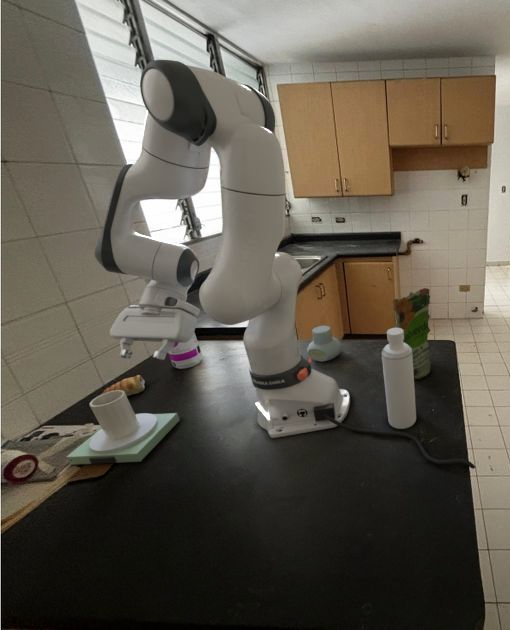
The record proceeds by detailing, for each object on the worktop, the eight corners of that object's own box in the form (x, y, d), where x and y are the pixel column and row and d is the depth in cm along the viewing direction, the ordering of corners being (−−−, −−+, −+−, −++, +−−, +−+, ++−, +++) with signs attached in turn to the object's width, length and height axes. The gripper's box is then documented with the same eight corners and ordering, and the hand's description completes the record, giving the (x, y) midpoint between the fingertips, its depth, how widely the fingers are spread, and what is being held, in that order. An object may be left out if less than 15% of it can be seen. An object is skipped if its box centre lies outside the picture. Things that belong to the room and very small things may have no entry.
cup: (145, 421, 79) (131, 389, 75) (126, 439, 73) (109, 406, 70) (121, 422, 79) (105, 390, 75) (99, 440, 73) (81, 407, 70)
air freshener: (347, 352, 111) (343, 325, 107) (334, 365, 104) (329, 336, 100) (319, 348, 114) (314, 322, 110) (304, 361, 107) (298, 333, 103)
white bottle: (400, 406, 84) (392, 315, 74) (421, 416, 80) (416, 321, 71) (382, 422, 79) (371, 326, 69) (404, 433, 75) (396, 334, 66)
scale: (180, 420, 83) (176, 410, 82) (139, 463, 71) (133, 452, 69) (119, 422, 83) (115, 413, 82) (68, 466, 71) (62, 455, 70)
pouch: (432, 359, 105) (429, 283, 95) (435, 381, 94) (432, 297, 84) (396, 361, 104) (390, 285, 95) (395, 383, 93) (388, 300, 84)
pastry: (103, 405, 90) (97, 393, 89) (104, 393, 95) (98, 382, 94) (146, 390, 95) (141, 379, 94) (145, 381, 100) (140, 370, 99)
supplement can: (193, 369, 105) (177, 326, 100) (167, 370, 106) (150, 327, 100) (208, 356, 113) (195, 315, 107) (184, 357, 113) (170, 316, 107)
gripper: (115, 299, 83) (90, 353, 78) (187, 300, 80) (166, 356, 75) (138, 309, 89) (117, 360, 84) (206, 310, 86) (188, 363, 80)
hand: (141, 358), depth 79 cm, fingers open, 8 cm apart
